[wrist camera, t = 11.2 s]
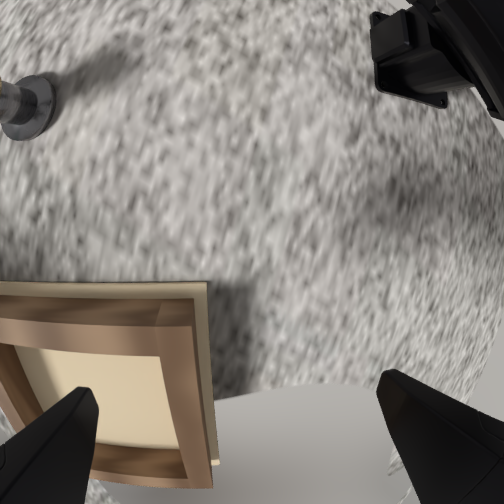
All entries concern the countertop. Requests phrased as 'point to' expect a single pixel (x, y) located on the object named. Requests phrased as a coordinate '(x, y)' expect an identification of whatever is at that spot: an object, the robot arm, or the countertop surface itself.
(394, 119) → the countertop surface
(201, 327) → the cork mat
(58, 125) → the countertop surface
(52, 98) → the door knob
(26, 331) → the walnut frame
